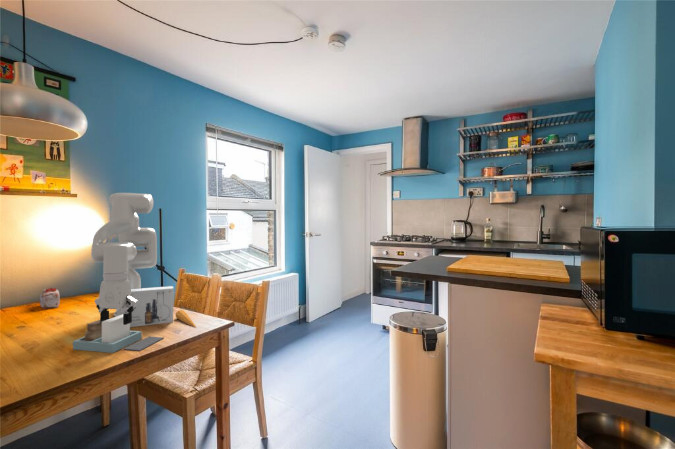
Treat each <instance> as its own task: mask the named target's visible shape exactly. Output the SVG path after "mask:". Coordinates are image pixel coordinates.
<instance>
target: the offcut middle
mask: <svg viewBox="0 0 675 449" xmlns="http://www.w3.org/2000/svg"><path fill="white" fill-rule="evenodd" d="M84 337H85V340H95V339H98V338H100V337H102V329H100V330H97V331H87V330H85V331H84Z"/></svg>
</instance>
